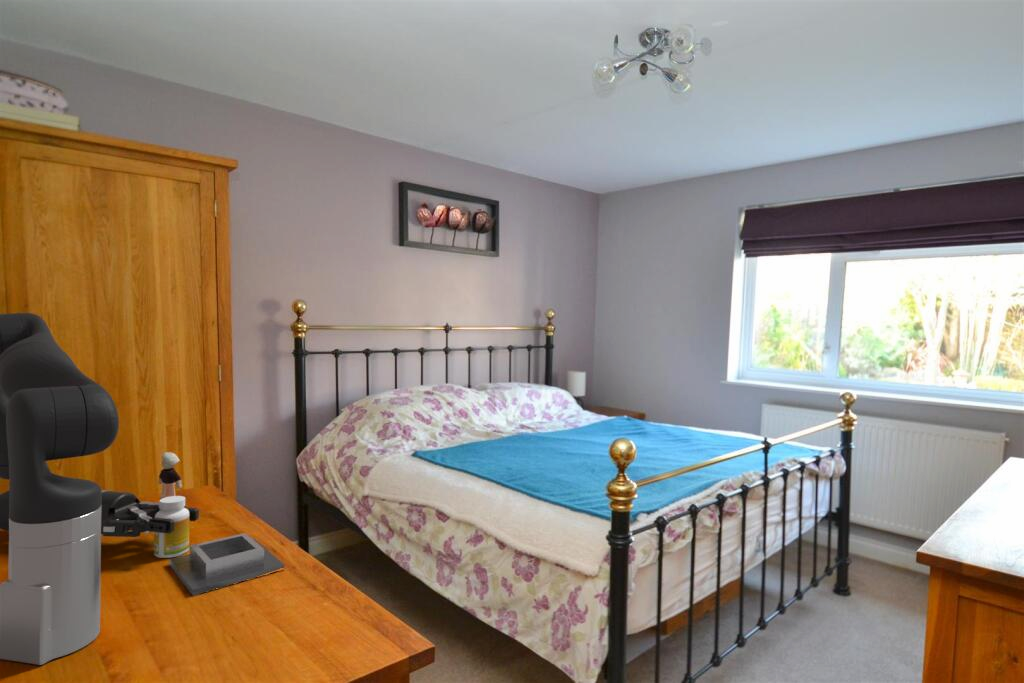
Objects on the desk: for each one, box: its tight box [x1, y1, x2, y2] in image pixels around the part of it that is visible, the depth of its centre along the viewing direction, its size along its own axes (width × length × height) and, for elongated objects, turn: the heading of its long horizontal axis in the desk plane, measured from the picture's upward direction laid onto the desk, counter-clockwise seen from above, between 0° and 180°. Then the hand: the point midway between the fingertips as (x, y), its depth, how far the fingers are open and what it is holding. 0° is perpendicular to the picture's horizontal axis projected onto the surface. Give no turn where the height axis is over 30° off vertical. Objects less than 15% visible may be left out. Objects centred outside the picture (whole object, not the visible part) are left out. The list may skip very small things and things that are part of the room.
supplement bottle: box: [153, 495, 190, 559], centre depth 100 cm, size 5×5×10 cm
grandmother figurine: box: [157, 451, 183, 511], centre depth 120 cm, size 8×4×13 cm, turn 73°
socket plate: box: [168, 532, 285, 597], centre depth 95 cm, size 14×14×4 cm
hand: (185, 520), depth 99 cm, fingers closed on supplement bottle, 5 cm apart
